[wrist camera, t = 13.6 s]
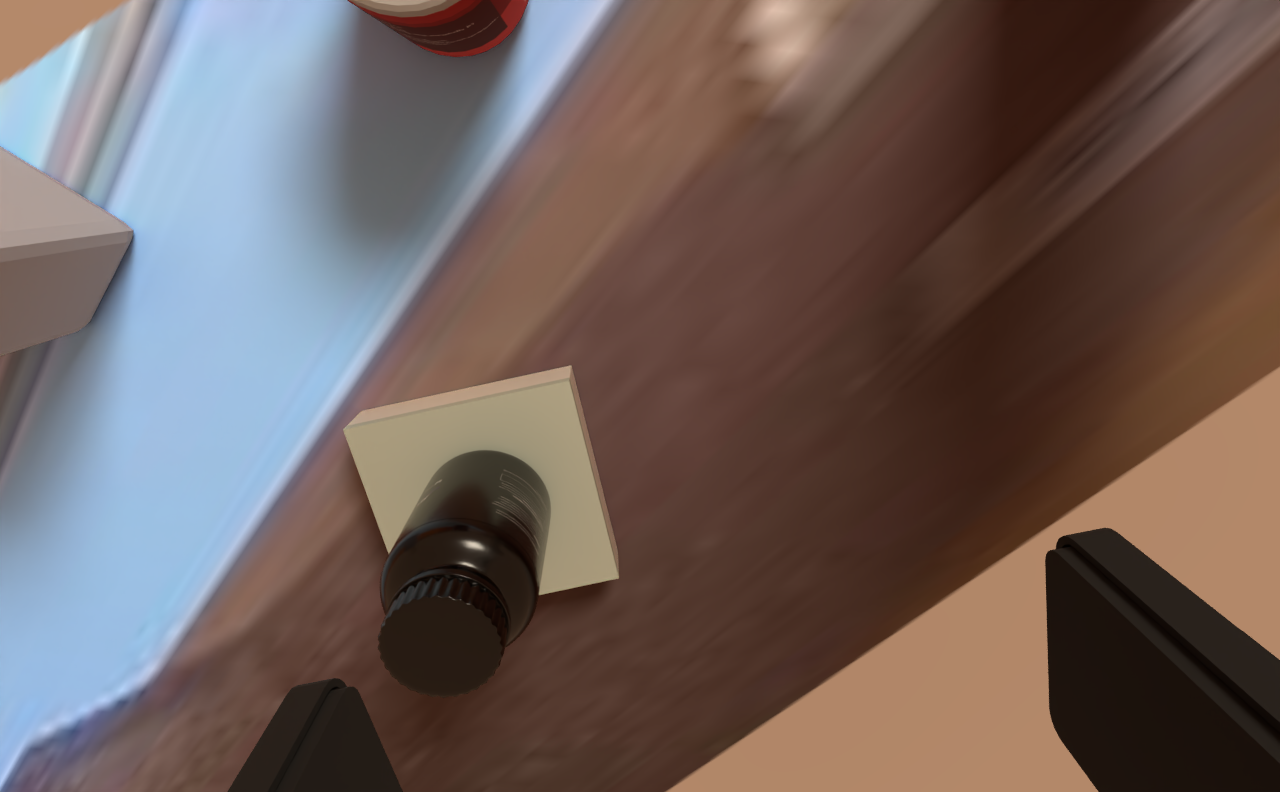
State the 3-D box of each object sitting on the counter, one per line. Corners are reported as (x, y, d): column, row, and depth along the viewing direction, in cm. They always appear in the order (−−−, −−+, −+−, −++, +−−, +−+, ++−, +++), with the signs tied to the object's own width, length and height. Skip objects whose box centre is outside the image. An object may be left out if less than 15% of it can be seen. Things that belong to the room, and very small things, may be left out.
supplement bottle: (412, 454, 37) (328, 580, 26) (541, 438, 38) (513, 556, 26) (439, 567, 40) (373, 730, 28) (561, 551, 40) (544, 707, 28)
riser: (571, 365, 40) (569, 380, 37) (617, 551, 43) (619, 578, 40) (361, 410, 40) (343, 429, 37) (425, 592, 43) (413, 621, 41)
